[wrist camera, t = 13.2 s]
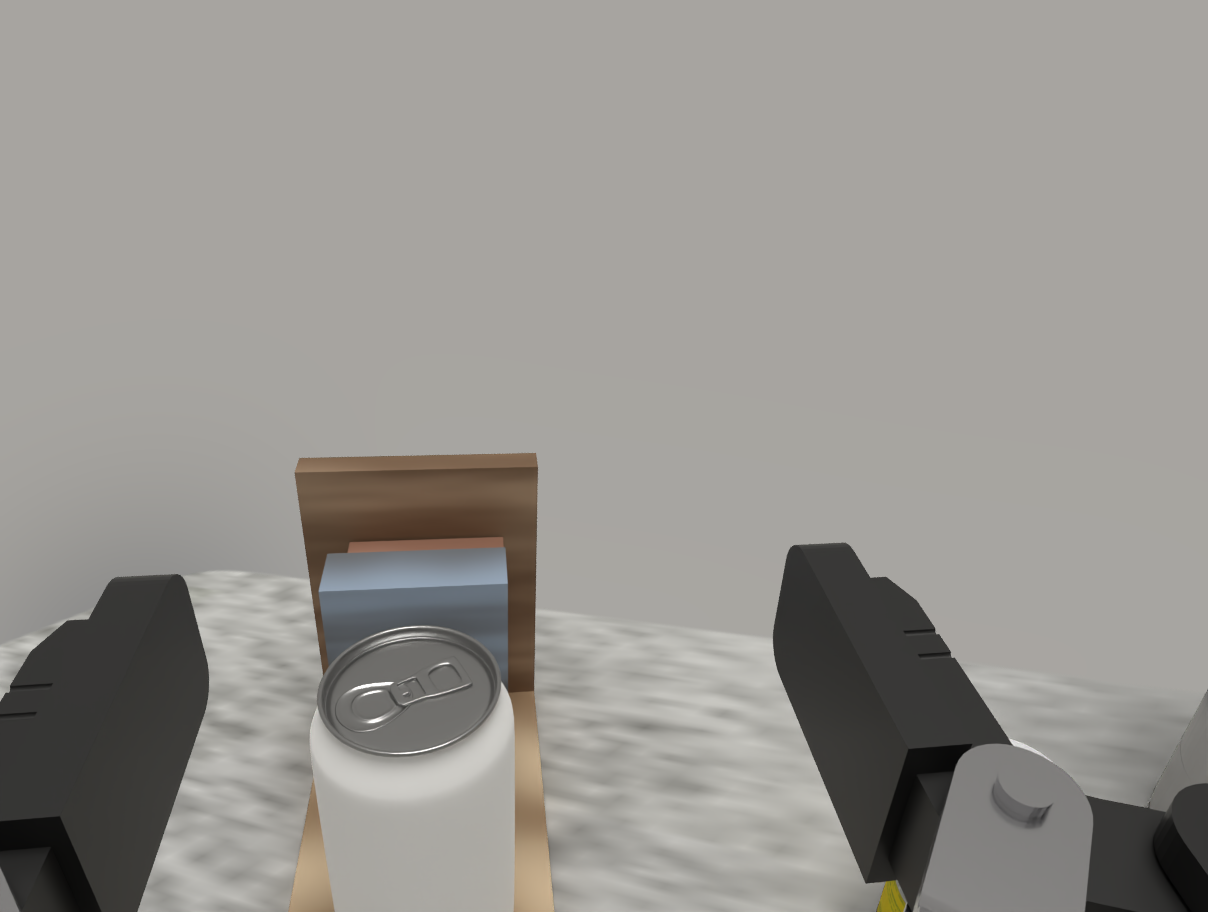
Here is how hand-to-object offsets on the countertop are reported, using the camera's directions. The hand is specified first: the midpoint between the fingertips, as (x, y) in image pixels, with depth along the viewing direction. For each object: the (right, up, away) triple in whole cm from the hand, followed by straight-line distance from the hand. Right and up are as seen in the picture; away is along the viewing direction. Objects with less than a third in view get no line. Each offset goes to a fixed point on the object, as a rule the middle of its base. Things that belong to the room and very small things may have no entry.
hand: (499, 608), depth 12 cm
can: (-5, -16, +21) cm, 27 cm away
